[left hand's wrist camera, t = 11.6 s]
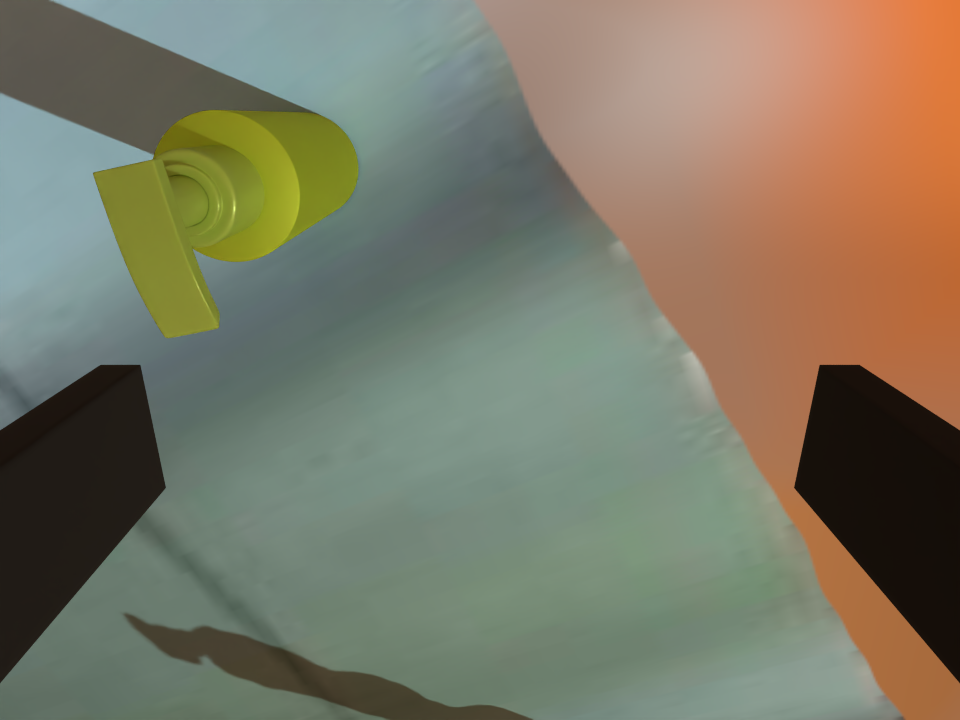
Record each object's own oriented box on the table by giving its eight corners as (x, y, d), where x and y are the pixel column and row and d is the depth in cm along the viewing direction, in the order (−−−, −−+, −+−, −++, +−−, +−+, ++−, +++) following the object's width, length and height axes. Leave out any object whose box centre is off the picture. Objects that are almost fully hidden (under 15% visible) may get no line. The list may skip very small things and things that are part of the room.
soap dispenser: (281, 241, 39) (99, 355, 20) (245, 124, 36) (-1, 131, 18) (374, 222, 39) (274, 321, 20) (343, 102, 36) (196, 86, 17)
